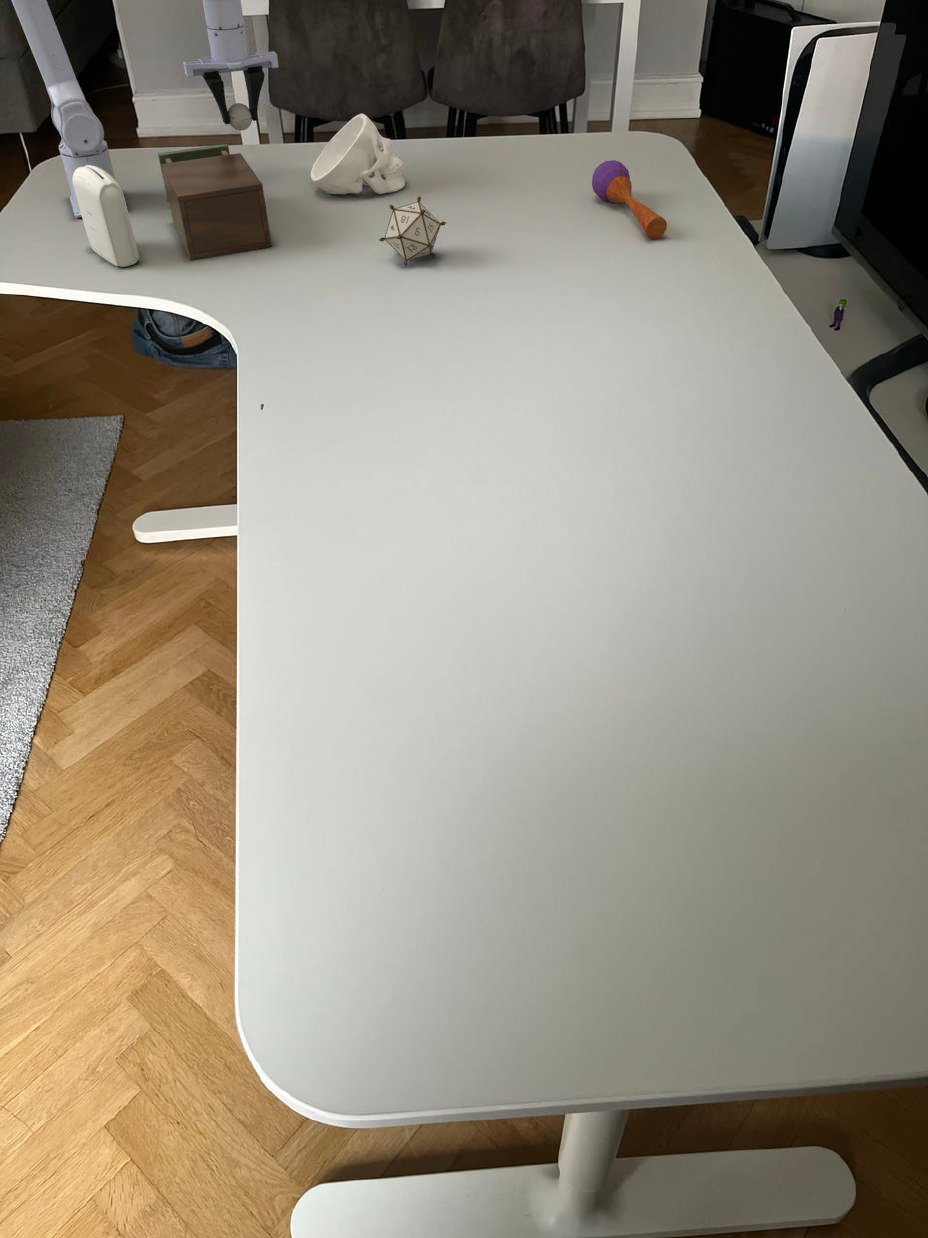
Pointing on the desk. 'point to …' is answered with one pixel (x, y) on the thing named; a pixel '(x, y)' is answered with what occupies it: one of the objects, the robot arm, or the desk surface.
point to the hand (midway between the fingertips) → (240, 120)
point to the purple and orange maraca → (625, 196)
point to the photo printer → (105, 215)
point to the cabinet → (217, 205)
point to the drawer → (192, 155)
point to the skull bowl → (358, 161)
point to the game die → (412, 231)
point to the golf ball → (239, 116)
